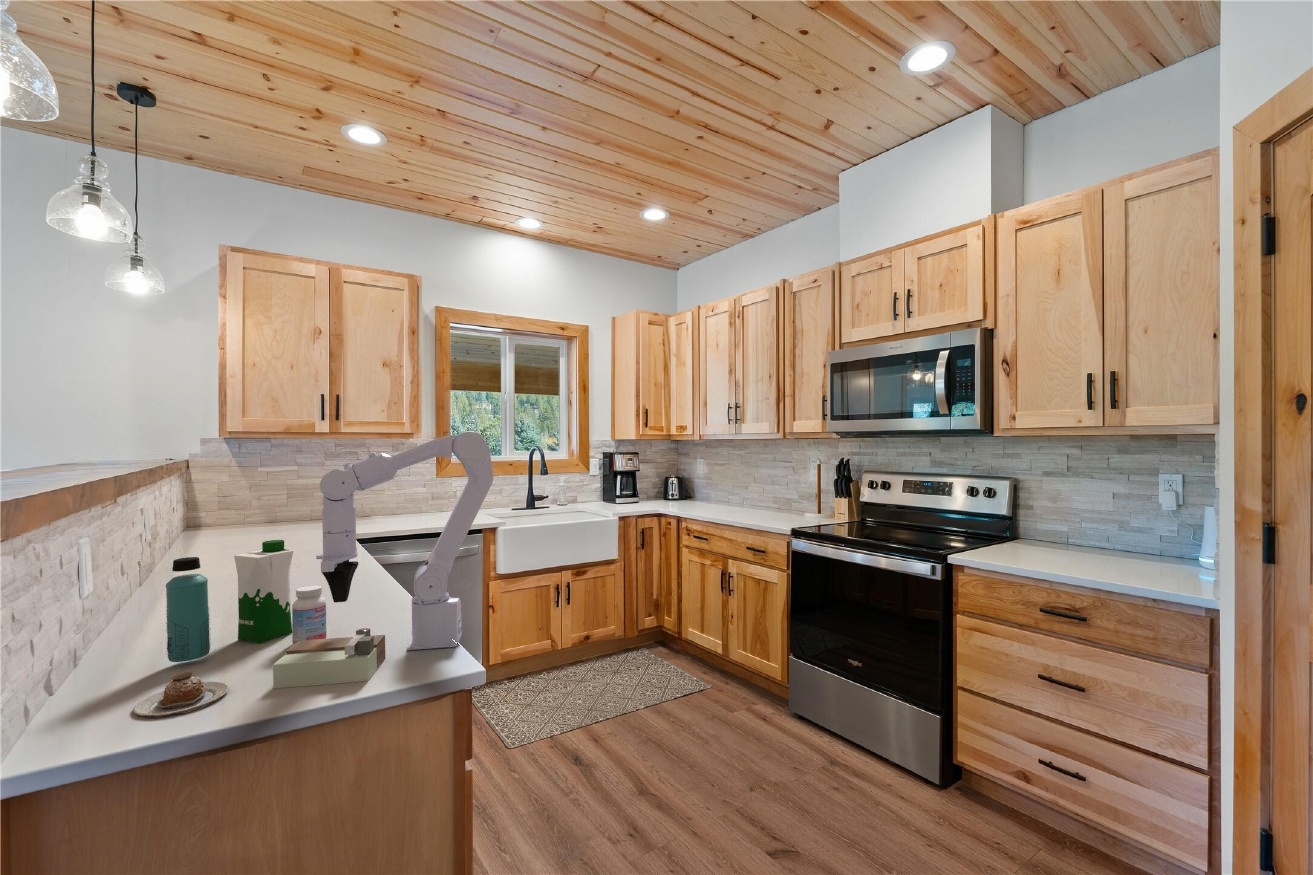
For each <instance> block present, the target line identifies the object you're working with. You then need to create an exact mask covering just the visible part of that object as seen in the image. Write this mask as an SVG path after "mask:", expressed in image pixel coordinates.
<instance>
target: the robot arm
mask: <svg viewBox="0 0 1313 875" xmlns="http://www.w3.org/2000/svg"><path fill="white" fill-rule="evenodd" d="M453 455H454V456H455V457H456V459H457V460H458V461H459V462H460V463H461V465H463V470H464V471H465V474H466V476H467V479H468V480H467V482H466V484H465V486H464V488H463V489H462V492H461V494H460V495H459V496H460V497H459V498H458V500H457V502H456V503H455V506H454V508H453V510H452V512H451V514H450V516H449V517H448V520H447V522H446V524H445V526H444V528H443V530H442V532H441V533H440V536H439V538H438V540H437V541H436V544H435V545H434V548H433V549H432V550H431V551H430V553H429V555H428V557H427V558H426V559H427V560H426V561H424V563H423V564H421V565H420V566H418V568H417V569H416V570H415V573H414V576H413V581H414V582H413V586H412V587H413V593H414V596H413V597H412V598H411V636H412V637H411V640H410V642H409V643H408V644H407V646H406V651H414V650H428V649H440V648H441V649H443V648H455V647H457V646H458V644H459V642H460V640H461V638H462V635H463V631H462V630H463V627H462V601H461V598H460V597H451V596H450V593H449V592H447V589H448V578H449V575H450V573H451V571H452V568H453V566H454V562H455V560H456V558H457V556H458V554H459V551H460V550H461V547H462V545H463V543H464V541H465V540H466V537H467V535H468V533H469V531H470V530H471V527H472V525H473V523H474V520H475V519H476V518H477V515H478V513H479V511H480V509H481V507H482V505H483V502H484V501H485V499H486V497H487V495H488V493H489V491H490V490H491V488H492V485H493V482H494V472H493V471H494V470H493V464H492V458H491V456H492V455H491V449H490V447H489V446H488V443H487V442H486V439H485V438H484V436H483V435H481V433H478V432H476V431H472V430H469V431H468V430H467V431H463V432H460V433H459V434H451V435H447V436H442V437H436V438H434V439H432V440H429V441H427V442H425V443H422V444H420V445H417V446H414V447H412V448H409V449H407V450H404V451H402V452H399V453H397V454H395V455H389V454H387V453H384V452H380V453H376V452H375V451H374V452H371V453H369V454H368V455H367V456H368V457H366V458H363V459H360V460H358V461H355V462H353V463H350V462H346V463H344V464H342V466H343V468H334V469H332V470H331V471H328V472H327V473H326V474H324V475H323V476H322V478H321V480H320V482H319V490H320V492H321V494H322V509H321V512H322V513H321V514H322V515H321V518H322V520H321V521H322V553H319V554H317V555H316V556H315V557H316V558H315V559H316V560H321V561H320V573H321V574H322V575H323V577H324V578H325V580H326V582H327V585H328V588H329V590H330V593H331V598H332V602H333V603H334V604H335V603H346V602H347V601H348V599H349V595H350V591H351V585H352V581H353V578H354V575H355V572H356V571H357V568H358V566H359V562H358V560H357V561H356V560H355V561H350V560H352V559H356V558H357V557H358V549H357V548H358V547H357V519H356V518H357V516H356V509H357V508H356V505H355V491H358V492H363V491H366V490H369V489H371V488H374V487H376V486H378V485H381V484H385V483H386V482H389V481H393V480H395V476H396V475H397V472H398V471H399V470H402V469H405V468H407V467H411V466H414V465H416V464H420V463H422V462H425V461H427V460H430V459H433V458H436V457H439V458H449V459H451V458H453ZM452 639H453V640H455V642H457V643H458V644H456V643H455V642H454V641H453V640H452Z"/></svg>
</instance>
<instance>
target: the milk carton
mask: <svg viewBox="0 0 1313 875" xmlns="http://www.w3.org/2000/svg"><path fill="white" fill-rule="evenodd" d="M293 554H294V550H290V549H285V540H284V539H273V540H266V541H265V540H264V541H263V542H262V543H261V549H260V550H255V551H247V552H245V553H240V554H235V555H233V558H234V562H235V568H236V573H237V600H238V601H237V602H238V604H237V605H238V608H237V610H238V611H237V612H238V621H237V623H238V624H237V640H238V641H241V642H246V643H254V644H259V645H260V644H264V643H267V642H270V641H273V640H276V639H279V638H282V637H284V636H287V635H291V634H292V610H291V571H290V570H291V565H292V559H293Z"/></svg>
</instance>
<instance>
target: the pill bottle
mask: <svg viewBox="0 0 1313 875" xmlns="http://www.w3.org/2000/svg"><path fill="white" fill-rule="evenodd" d="M322 593H323V587H322V586H321V585H306V586H302V587H298V588H297V589H295V596H296V598H297V599H296V600H295V601H293V603H292V606H291V608H292V610H291V623H292V633H291V634H292V636H291V637H292V646H293V645H294V644H296V643H297V642H298V641H301V640H315V639H327V638H328V637H327V636H328V635H327V631H328V630H327V601H326V599H325V597H323V596H322V595H323V594H322Z"/></svg>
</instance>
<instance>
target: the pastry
mask: <svg viewBox="0 0 1313 875" xmlns="http://www.w3.org/2000/svg"><path fill="white" fill-rule="evenodd" d="M193 674H194V673H193V672H191V671H187V672H181V673H177V674H175V675H173V676H172V677H171V681H169V682H168V683H167V684H166V686H165V688H164V690H163V691H160V692H159V691H158V692H156V693H154V694H152V695H150V696H148V697H145V698H144V699H142V700H141V701H139V702H138V703H136V704H135V705H134V707H133V709H132V712H133V713H134V714H135V715H138V716H142V717H143V716H144V717H150V718H157V719H159V718H162V717H167V716H171V715H172V716H173V715H176V714H184V713H189V712H193V711H195V710H199V709H202V708H204V707H206V706H209V705H211V704H213V703H216V702H217V701H218V699H220V698H222V697H223V696H224V695H225V694H226V693H228V691H229V689H230V687H229V685H228V684H226V683H225V682H219V681H202V679H201V678H200V677H198V676H193ZM207 692H209V693H211V694H212V697H211V698H209V699H207V700H205V701H204V702H201V703H199V704H196V705H194V706H191V705H193V704H195V703H197V701H199V700H201V698H202V697H203V696H205V695H206V693H207ZM156 704H157V707H159V708H161V709H163V710H164V709H168V710H169V709H173V708H181V707H187V706H190V707H187V708H183V709H177V710H173V711H165V712H157V711H156V712H155V711H153V710H152V707H153V706H154V705H156Z"/></svg>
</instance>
